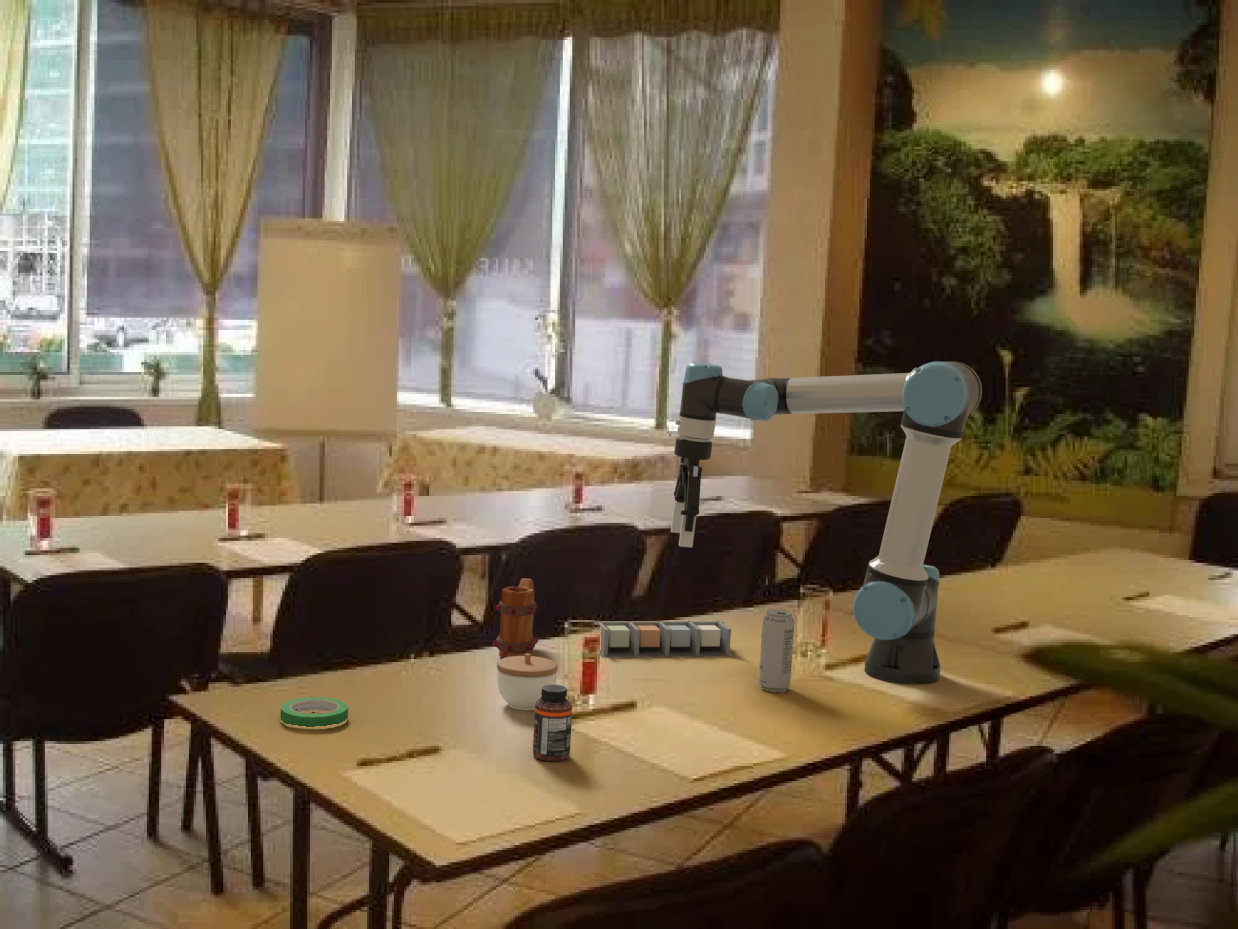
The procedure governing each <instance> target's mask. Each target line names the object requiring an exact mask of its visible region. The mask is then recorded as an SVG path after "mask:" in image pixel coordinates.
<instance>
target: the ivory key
mask: <svg viewBox="0 0 1238 929" xmlns="http://www.w3.org/2000/svg"><path fill="white" fill-rule="evenodd" d="M697 627H699V628H700V629H701V638H700V646H720V634H721V630H720V629H719V628H718V627H716V626H715V625H697Z"/></svg>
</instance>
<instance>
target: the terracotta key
mask: <svg viewBox="0 0 1238 929" xmlns="http://www.w3.org/2000/svg"><path fill="white" fill-rule="evenodd" d="M637 628H639V629H640V637H639V646H640V647H659V646H660V629H659V628H658V627H656V626H655V625H651V626H637Z"/></svg>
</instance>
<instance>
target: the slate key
mask: <svg viewBox="0 0 1238 929" xmlns="http://www.w3.org/2000/svg"><path fill="white" fill-rule="evenodd" d="M667 627H668V628H669V629H671V632H670V646H671V647H690V635H691V630H690V629H689V628H688V627H687V626H685V625H667Z"/></svg>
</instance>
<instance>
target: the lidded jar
mask: <svg viewBox="0 0 1238 929" xmlns="http://www.w3.org/2000/svg"><path fill="white" fill-rule="evenodd" d="M496 668H497V670H496V671H497V672H496V673H497V674H496V679H497V681H496V682H497V688H498V691H499V694H500V696H501V697H502V699H503V701H505V703H507V706H508V707H509V708H510V709H512V710H513V709H514V710H516V711H535V703H536V701H537V700H539V699H540V698H541V696H542V695H541V693H542V687H543V686H545V685H556V682H557V673H558V663H557V662H556V661H554V660H552V659H549V658H545V657H541V656H534V655H532V653H531V654H525V656H512V657H506V658H501V659H498V661H497V663H496Z"/></svg>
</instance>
